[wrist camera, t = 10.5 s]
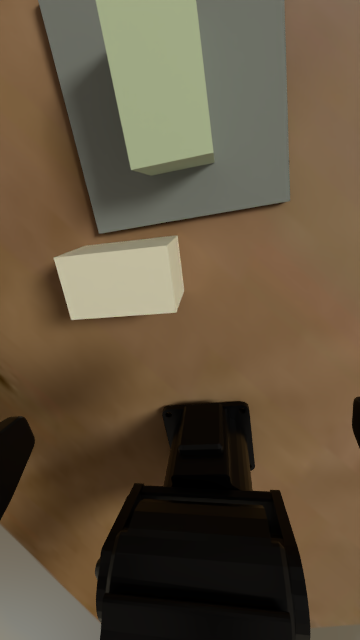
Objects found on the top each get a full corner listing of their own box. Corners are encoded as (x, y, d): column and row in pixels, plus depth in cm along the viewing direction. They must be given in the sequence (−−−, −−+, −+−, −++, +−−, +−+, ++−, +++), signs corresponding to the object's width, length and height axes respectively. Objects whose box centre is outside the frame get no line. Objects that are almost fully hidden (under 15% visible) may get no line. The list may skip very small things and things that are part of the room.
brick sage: (214, 162, 16) (213, 152, 12) (150, 175, 16) (131, 169, 13) (197, 15, 13) (190, -53, 10) (124, 37, 14) (91, -19, 10)
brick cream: (177, 235, 18) (167, 245, 14) (184, 290, 19) (176, 312, 16) (85, 245, 19) (53, 257, 15) (97, 297, 20) (71, 319, 17)
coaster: (287, 200, 16) (289, 200, 16) (102, 232, 18) (99, 233, 18) (278, -79, 12) (281, -92, 12) (42, -1, 14) (35, -9, 14)
